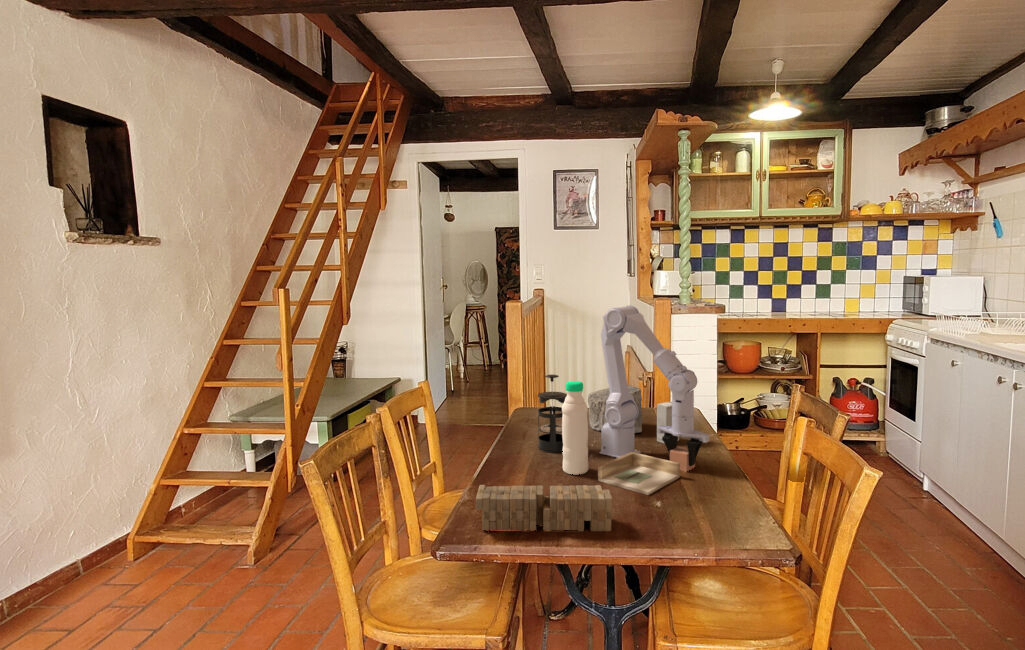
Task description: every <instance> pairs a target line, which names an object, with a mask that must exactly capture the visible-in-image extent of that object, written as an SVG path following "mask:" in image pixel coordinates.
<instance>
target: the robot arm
mask: <svg viewBox="0 0 1025 650" xmlns="http://www.w3.org/2000/svg"><path fill="white" fill-rule="evenodd" d="M602 318H603V319H602V320H603V324H602V325H603V326H602V328H601V332H600V339H601V345H602V352H603V357H604V358H603V360H604V365H605V371H606V378H607V384H608V388H609V391H610V395H609V397H608V399H607V401H606V412H605V418H606V421H607V423H605V424H604V425H603V427H602V430H601V431H600V432H601V433H600V446H601V447H600V451H599V454H601V455H605V456H609V457H613V458H615V459H616V458H619V457H621V456H623V455H625V454H627V453H630V452H635V453H639V454H641V451H639V450H635V433H634V423H635V419H636V418H637V417H638V414H639V410H638V407H637V405H636V403H635V401H634V397H633V395H632V394H631V393H630V392H629V391H628V385H629V384H628V380H627V373H626V367H625V362H624V356H623V349H622V343H621V339H622V337H623V336H624V335H625V334H626V333H628V334H633V335H635V336H636V337H637V338H638V339H639V341H640V342H642V343H643V345H644V346H645V347H646V348H647V350H649V352H651V354H652V355H653V358H652V359H653V363H654V364H655V366H656V367H657V368H658V370H659V371H660V372H661V373H662V374H663V376H664V377H665V378H666V379H667V380H668V382H667V385H668V389H669V390H670V391H671V402H672V426H664V425H660V426H658V427H657V426H656V434H657V433H660V434H661V433H664V436H663V437H662V440H663V442H664V443H665V444H664V443H663V444H664V446H665V447H666V450H667V453H668V456H669V458H670V450H672V449H674V448H676V447H678V442H679V441H678V437H679V438H685V439H689V440H687V441H686V446H687V448H688V453H689V466H693V465H694V464H695V465H696V460H697V458H698V457H697V456H698V454H699V451H700V449H701V447H702V445H703V443H705V444H707V443H708V442H710V434H708V433H705V432H701V431H700V430H699V431H698V430H696V429H694V421H695V420H694V415H695V414H694V413H695V411H694V408H695V407H694V405H695V403H694V402H695V396H694V395H695V394H694V393H695V390H694V389H695V388H696V387H697V385H698V377H697V375H696V374H695V371H693V370H691V369H688V368H687V366H686V365H684V364H683V363H682V362H681V361H680V360H679V358H678V357H677V353H676V351H675V350H672V349H671V348H666V347H664V346H663V345H662V344H661V342H660V341H659V339H658V338H657V335H655V334H654V332H653V331H652V329H651V328H650V327H649V325H648V324H647V322H646V320H645V318H644V315H643V314H642V313H641V312H640V311H639V309H638V308H637V307H636V306H634V305H632V304H631V305H630V304H629V305H625V306H621V307H612V308H610V309H608V311H607V312H606V313H605V314H604V315H603V316H602Z"/></svg>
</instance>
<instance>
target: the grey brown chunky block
mask: <svg viewBox="0 0 1025 650" xmlns="http://www.w3.org/2000/svg"><path fill="white" fill-rule="evenodd" d="M627 385H628V391H629V392H630V393H631V394H632V395H633V397H634V401H635V403H636V405H637V407H638V410H639V414H638V417H637V418H636V419H635V423H634V434H637V433H642V431H643V428H642V426H643V409H642V402H643V397H642V388H640V387H637V386H633V385H629V384H627ZM609 395H610V391H609V387H607V388H604V389H600V390H596V391H593V392H590V393H588V394H587V403H588V413H589V416H588V417H589V418H588V420H589V421H588V423H589V426H590V428H591V429H592V430H594V431H598V432H601V430H602V427H603V425H604V424H605V423H607V421H606V418H605V412H606V401H607V399H608V397H609Z"/></svg>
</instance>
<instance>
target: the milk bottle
mask: <svg viewBox="0 0 1025 650" xmlns="http://www.w3.org/2000/svg"><path fill="white" fill-rule="evenodd" d="M583 390H584V384H583V382H582V381H579V380H571V381H570V380H569V381H567V382H566V383H565V392H566V394H567V396H566V397H565V402H564V403H562V406H561V407H562V412H561V413H563V416H562V417H561V418H562V419H561V425H562V433H561V434H562V438H563V452H562V470H563V472H564V473H566V474H568V475H572V474H573V475H575V476H577V475H579V474H580V475H584V474H586V473H588V471H589V460H588V458H589V457H588V456H589V447H588V441H589V440H588V439H589V421H588V420H589V418H588V412H589V406H588V405H587V402H586V401H585V399H584V396H583V395H582V393H583Z"/></svg>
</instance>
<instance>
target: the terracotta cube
mask: <svg viewBox="0 0 1025 650" xmlns="http://www.w3.org/2000/svg"><path fill="white" fill-rule="evenodd" d="M669 461H672V462H677V463H680V470H681V471H680V472H683V471H684V473H688V472H690V471H691V470H693V469H695V468H694V467H696V463H695V464H694V465H693V466H689V453H688V447H684V446H683V447H682V446H679V445H677V447H676V448H674V449H672V450H670V457H669ZM692 468H693V469H692ZM689 470H690V471H689ZM687 471H688V472H687Z"/></svg>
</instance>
